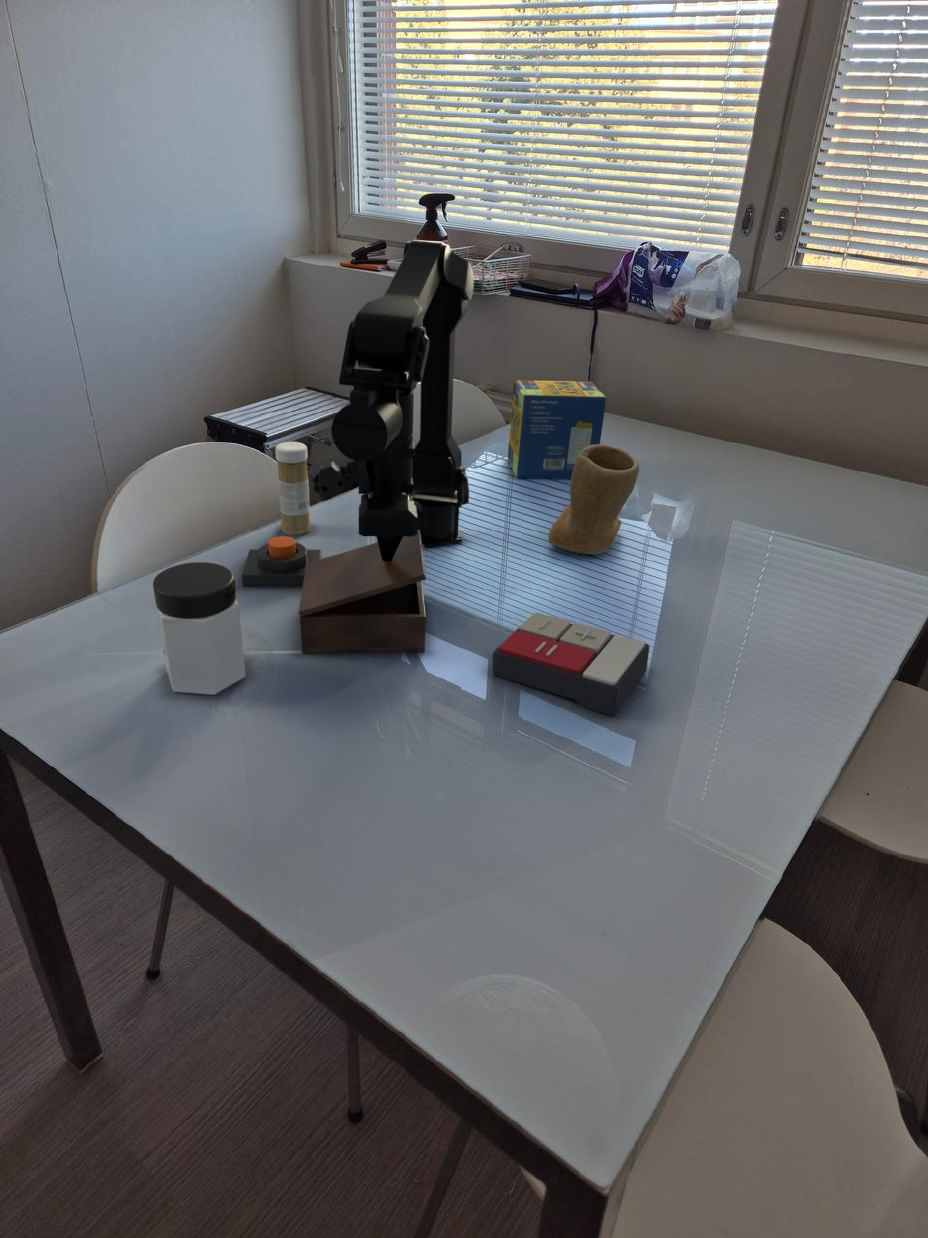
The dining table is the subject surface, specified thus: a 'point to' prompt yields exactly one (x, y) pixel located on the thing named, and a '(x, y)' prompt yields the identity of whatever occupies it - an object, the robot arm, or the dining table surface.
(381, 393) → the robot arm
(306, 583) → the lid
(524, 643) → the calculator
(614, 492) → the stone cup
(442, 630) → the dining table surface
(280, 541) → the button
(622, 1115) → the dining table surface
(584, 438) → the protein box
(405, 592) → the wooden box
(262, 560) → the control block
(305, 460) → the sprinkles bottle
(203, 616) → the jar
